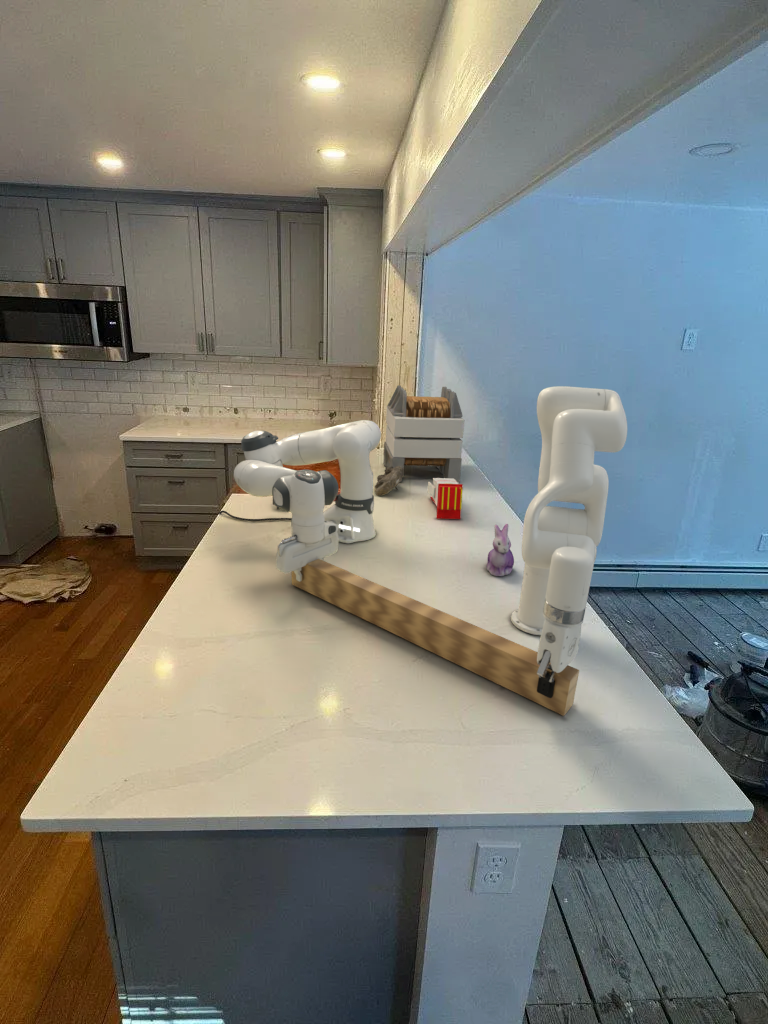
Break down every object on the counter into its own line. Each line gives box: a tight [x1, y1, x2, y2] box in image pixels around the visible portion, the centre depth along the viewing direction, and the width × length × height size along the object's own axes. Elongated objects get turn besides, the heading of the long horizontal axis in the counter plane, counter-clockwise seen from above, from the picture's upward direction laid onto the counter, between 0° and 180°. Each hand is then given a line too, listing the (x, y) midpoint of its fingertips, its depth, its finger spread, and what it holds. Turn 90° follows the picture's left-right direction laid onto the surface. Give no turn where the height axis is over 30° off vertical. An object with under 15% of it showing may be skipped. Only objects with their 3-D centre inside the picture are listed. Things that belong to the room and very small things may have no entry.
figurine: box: [486, 523, 515, 577], centre depth 172 cm, size 9×10×15 cm
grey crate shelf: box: [383, 384, 465, 484], centre depth 268 cm, size 34×33×41 cm
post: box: [291, 559, 580, 717], centre depth 136 cm, size 80×5×8 cm, turn 50°
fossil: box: [374, 466, 405, 497], centre depth 246 cm, size 22×10×15 cm
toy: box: [427, 477, 464, 520], centre depth 227 cm, size 12×13×30 cm
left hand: (308, 576), depth 157 cm, fingers closed on post, 4 cm apart
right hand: (550, 687), depth 115 cm, fingers closed on post, 4 cm apart
